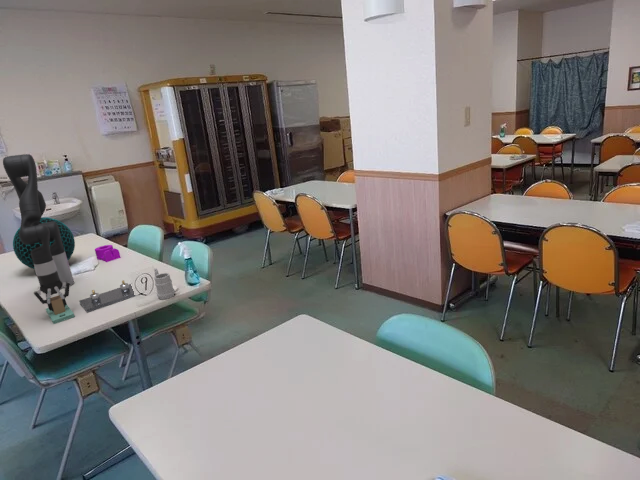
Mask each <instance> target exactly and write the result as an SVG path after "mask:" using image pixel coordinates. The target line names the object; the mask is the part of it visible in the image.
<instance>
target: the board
mask: <svg viewBox="0 0 640 480" xmlns="http://www.w3.org/2000/svg"><path fill="white" fill-rule="evenodd" d="M50 302H51V304H52V307H53V310H54V311H50V310H49V308H48V307H47V308H45V312H46V314H47V316H48V317H49V319H50V320H51V322H52V323H53V325H56V324H58V323H61V322H64V321H67V320H69V319H73V318H75V317H76V315H75V313H74V312H73V310H72V309H71V308H70V306H69V305H68V304H67V305H66V306H65V307H64V304H63V301H62V298H61V297H60V296H59V294H57V295H55V296H52V297H51V299H50Z"/></svg>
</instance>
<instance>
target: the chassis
mask: <svg viewBox="0 0 640 480" xmlns="http://www.w3.org/2000/svg"><path fill="white" fill-rule="evenodd" d="M131 284H132V283H130V284H129V283H128V282H127V283H126V282H125V280H123V279H122V280H121V284H120V285H119V287H117V288H114V289H112V290H108V291H105V292H102V293H99V292H96V291H95V289H92V290H91V292H92V293H91V294H89V297H87V298H86V297H85V298H84V299H81V300H78V302H79V304H80V306H81V307H82V308H83V309H84V310H85V311H86V313H90V312H95V311H96V310H99V309H102V308H104V307H108V306H111V305H114V304H116V303H120V302H122V301H125V300H128V299H131V298H134V297H136V296H135V295H134V291H133V289H132V286H131Z"/></svg>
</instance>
